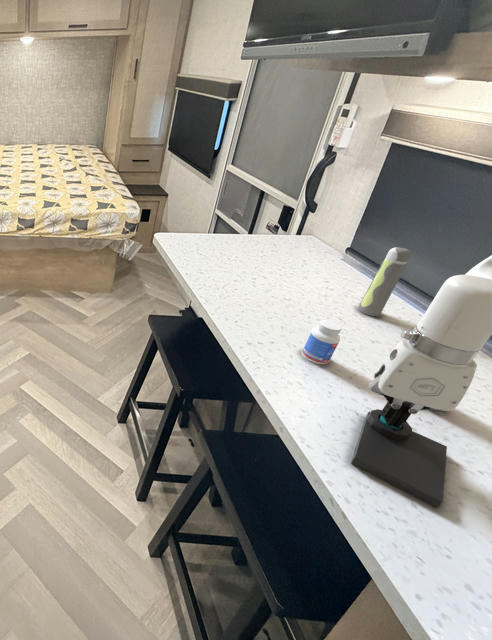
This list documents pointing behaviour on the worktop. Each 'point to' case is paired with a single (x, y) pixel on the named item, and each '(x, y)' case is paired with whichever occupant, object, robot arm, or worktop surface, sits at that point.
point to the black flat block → (402, 459)
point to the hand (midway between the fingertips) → (390, 420)
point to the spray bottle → (384, 281)
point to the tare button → (386, 423)
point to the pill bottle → (322, 342)
